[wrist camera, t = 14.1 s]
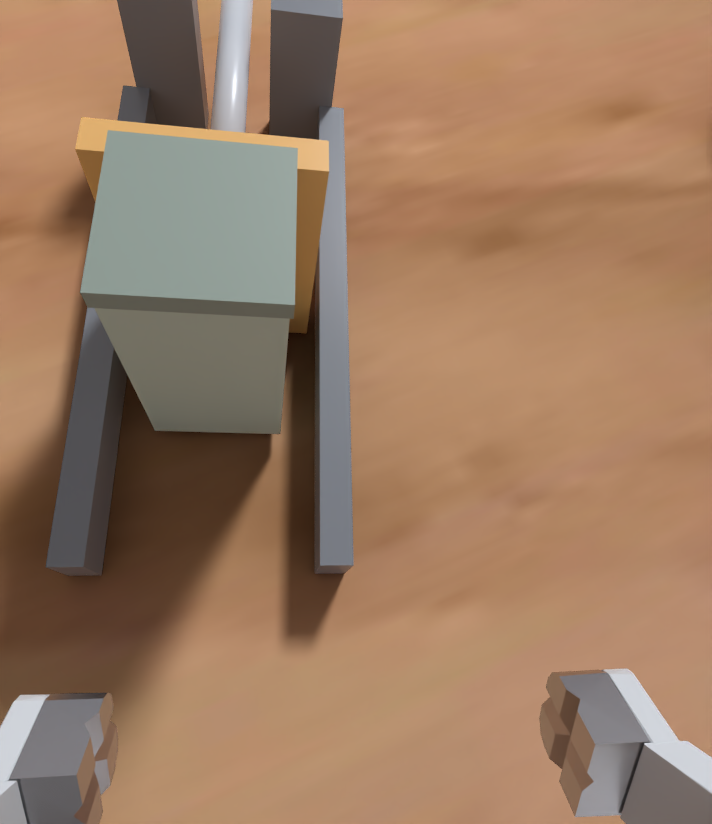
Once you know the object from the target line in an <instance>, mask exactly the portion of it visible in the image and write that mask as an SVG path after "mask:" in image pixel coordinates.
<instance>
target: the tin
mask: <svg viewBox="0 0 712 824" xmlns="http://www.w3.org/2000/svg"><path fill="white" fill-rule="evenodd" d="M297 162H298V148H292V147H281V146H270V145H260V144H249V143H239V142H228V141H218V140H207V139H196V138H186V137H175V136H165V135H154V134H143V133H133V132H122V131H112V130H108V132H107V138H106V144H105V150H104V156H103V161H102V167H101V173H100V179H99V185H98V191H97V197H96V202H95V208H94V214H93V220H92V226H91V232H90V238H89V243H88V249H87V255H86V261H85V267H84V273H83V279H82V284H81V290H80V293H81V295H82V297H83V299H84V301H85V303H86V305H87V307H88V308H95V310H96V312H97V315H98V317H99V319H100V321H101V323H102V325H103V327H104V329H105V331H106V333H107V335H108V337H109V339H110V341H111V343H112V345H113V347H114V349H115V351H116V353H117V355H118V357H119V359H120V361H121V363H122V365H123V367H124V369H125V371H126V373H127V375H128V377H129V379H130V381H131V383H132V385H133V387H134V389H135V391H136V393H137V395H138V397H139V399H140V401H141V403H142V405H143V407H144V409H145V411H146V413H147V415H148V417H149V420H150V422H151V424H152V426H153V428H154V430H155V431H183V432H220V433H257V434H280V431H281V419H282V406H283V394H284V382H285V370H286V357H287V345H288V333H289V321H290V319H294V310H295V273H296V218H297Z"/></svg>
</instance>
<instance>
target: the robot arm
mask: <svg viewBox="0 0 712 824" xmlns="http://www.w3.org/2000/svg"><path fill="white" fill-rule="evenodd" d="M546 689H547V691H548V693H549V695H550V697H549V698H548V699H547V700H546V701H545V702H544V703H543V704H542V707H541V712H540V718H539V719H540V731H541V736H542V740H543V744H544V747H545V749H546V752H547V754H548V756H549V759H551V760H552V761H553V762H554V763H555V764H556V765H558V766H559V767H560V768H561V769H562V772H561V776H560V780H559V782H560V784H561V786H562V789H563V791H564V793H565V795H566V798H567V800H568V802H569V804H570V807H571V809H572V811H573V814H574V816H575V817H586V816H611V815H621V817H620V818H621V819H622V820H623V821H624V822H625V823H626V824H712V757H710V756H709V755H707V754H706V753H704V752H703V751H701V750H700V749H698V748H697V747H695V746H694V745H692V744H691V743H689V742H688V741H679V740H678V738H677V737H676V735H675V734H674V732H673V731H672V729H671V728H670V726H669V725H668V723H667V722H666V721H665V719H664V718H663V716H662V715H661V713H660V712H659V710H658V709H657V707H656V706H655V704H654V703H653V702H652V700H651V699H650V697H649V696H648V694H647V693H646V691H645V690H644V688H643V687H642V685H641V684H640V682H639V681H638V680H637V678H636V677H635V675H634V674H633V672H631V671H630V670H628V669H608V670H586V671H568V672H552V673H551V675H550V676H549V677H548V680H547V684H546ZM113 709H114V705H113V700H112V694H110V693H67V694H39V695H20V696H19V697H18V698H17V699H16V700H15V701H14V702H13V703H12V705H11V707H10V709H9V711H8V713H7V715H6V716H5V718H4V720H3V722H2V724H1V726H0V824H99V823H100V820H101V816H102V813H103V808H102V801H101V794H102V793H103V792H104V791H105V790H106V789H107V788H108V787H109V786H110V785H111V782H112V778H113V774H114V771H115V766H116V759H117V752H118V733H117V726H116V725H115V724H114V723H112V722H111V721H110V719H111V716H112V713H113Z"/></svg>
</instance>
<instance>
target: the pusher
mask: <svg viewBox="0 0 712 824" xmlns="http://www.w3.org/2000/svg"><path fill="white" fill-rule="evenodd" d="M252 7H253V0H222V1H221V13H220V25H219V36H218V48H217V60H216V71H215V83H214V95H213V107H212V118H211V129H201V128H190V127H180V126H169V125H159V124H148V123H138V122H127V121H117V120H106V119H96V118H85V117H81V121H80V127H79V132H78V137H77V142H76V148H75V150H76V152H77V155H78V158H79V160H80V163H81V166H82V168H83V171H84V174H85V176H86V179H87V182H88V184H89V187H90V190H91V192H92V195H93V198H94V200H95V202H96V197H97V191H98V185H99V179H100V173H101V167H102V161H103V156H104V150H105V144H106V138H107V132H108V130H112V131H122V132H133V133H143V134H154V135H165V136H175V137H186V138H196V139H207V140H218V141H228V142H239V143H249V144H260V145H270V146H281V147H292V148H298V162H297V218H296V273H295V310H294V319H290V321H289V332H290V333H307V327H308V320H309V312H310V305H311V298H312V291H313V284H314V276H315V269H316V262H317V255H318V248H319V240H320V233H321V226H322V219H323V212H324V204H325V197H326V190H327V183H328V176H329V141H327V140H316V139H306V138H295V137H285V136H274V135H264V134H253V133H245V129H246V112H247V94H248V77H249V59H250V42H251V24H252Z"/></svg>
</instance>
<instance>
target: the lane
mask: <svg viewBox="0 0 712 824" xmlns="http://www.w3.org/2000/svg"><path fill="white" fill-rule="evenodd" d="M117 2H118V7H119V11H120V16H121V20H122V24H123V29H124V33H125V38H126V42H127V47H128V51H129V56H130V60H131V64H132V69H133V73H134V78H135V82H136V87H133V86H123V90H122V96H121V102H120V109H119V115H118V121H127V122H138V123H148V124H159V125H169V126H180V127H190V128H201V129H207V125H208V103H207V93H206V84H205V74H204V64H203V54H202V44H201V34H200V24H199V14H198V5H197V0H117ZM342 20H343V10H342V0H271V48H270V125H269V135H274V136H285V137H295V138H306V139H316V140H327V141H329V176H328V183H327V190H326V197H325V204H324V212H323V219H322V226H321V233H320V240H319V248H318V255H317V262H316V269H315V574H327V573H346V572H347V571H348V570H349V569H350V568H351V567H352V566H353V521H352V475H351V429H350V383H349V337H348V291H347V245H346V199H345V153H344V108H336V107H331V106H332V99H333V91H334V83H335V75H336V67H337V59H338V51H339V43H340V36H341V28H342ZM126 381H127V373H126V371H125V369H124V367H123V365H122V363H121V361H120V359H119V357H118V355H117V353H116V351H115V349H114V347H113V345H112V343H111V341H110V339H109V337H108V335H107V333H106V331H105V329H104V327H103V325H102V323H101V321H100V319H99V317H98V315H97V312H96V310H95V308H88V307H87V313H86V319H85V326H84V332H83V338H82V344H81V350H80V357H79V363H78V369H77V375H76V381H75V388H74V394H73V400H72V406H71V412H70V419H69V425H68V431H67V437H66V443H65V450H64V456H63V462H62V468H61V474H60V481H59V487H58V493H57V499H56V505H55V512H54V518H53V524H52V530H51V536H50V543H49V549H48V555H47V561H46V568H49V569H52V570H54V571H57V572H60V573H62V574H65V575H68V576H80V575H102V569H103V561H104V554H105V546H106V538H107V530H108V522H109V514H110V506H111V499H112V491H113V483H114V475H115V467H116V459H117V451H118V444H119V436H120V428H121V420H122V412H123V404H124V396H125V389H126Z"/></svg>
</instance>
